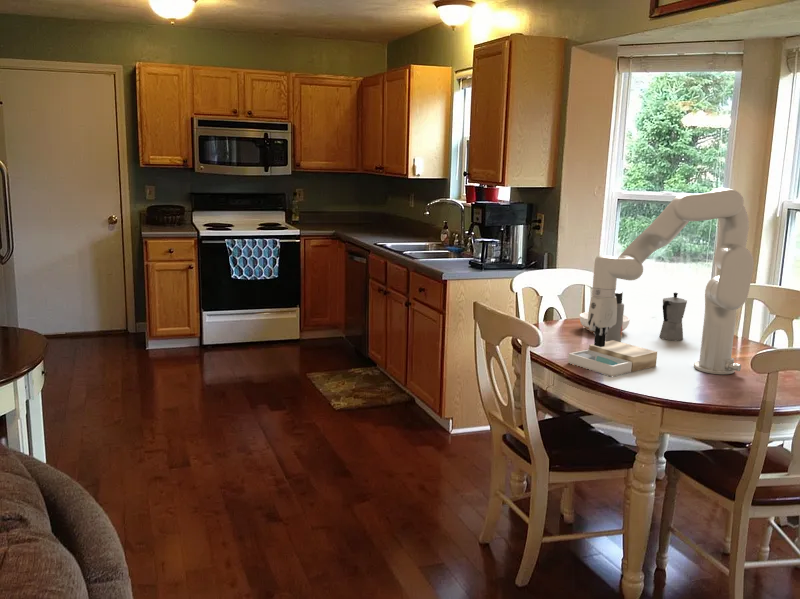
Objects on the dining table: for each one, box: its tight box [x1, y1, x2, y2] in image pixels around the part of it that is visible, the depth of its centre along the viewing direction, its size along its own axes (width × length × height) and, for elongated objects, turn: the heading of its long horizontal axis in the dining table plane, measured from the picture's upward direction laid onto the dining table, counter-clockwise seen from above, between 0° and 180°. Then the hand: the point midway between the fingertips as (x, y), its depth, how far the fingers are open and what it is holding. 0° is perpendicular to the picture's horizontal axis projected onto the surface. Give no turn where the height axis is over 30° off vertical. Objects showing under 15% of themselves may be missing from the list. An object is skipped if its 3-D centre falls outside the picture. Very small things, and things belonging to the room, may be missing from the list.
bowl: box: [579, 311, 631, 334], centre depth 295 cm, size 20×20×6 cm
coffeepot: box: [659, 292, 688, 341], centre depth 285 cm, size 15×9×18 cm, turn 134°
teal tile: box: [596, 356, 618, 365], centre depth 239 cm, size 5×5×2 cm
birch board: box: [588, 340, 658, 373], centre depth 250 cm, size 18×13×5 cm
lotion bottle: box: [605, 289, 625, 342], centre depth 275 cm, size 6×6×20 cm
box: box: [567, 349, 632, 378], centre depth 243 cm, size 18×10×4 cm, turn 36°
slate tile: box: [576, 353, 595, 360], centre depth 246 cm, size 5×5×2 cm
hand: (599, 345), depth 249 cm, fingers closed
